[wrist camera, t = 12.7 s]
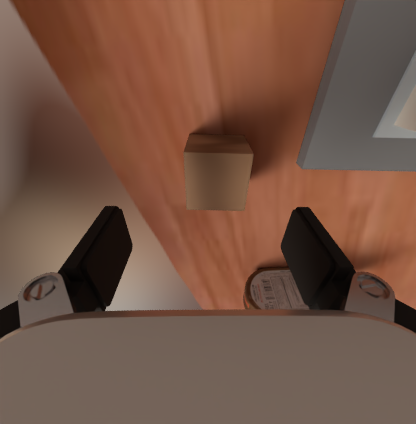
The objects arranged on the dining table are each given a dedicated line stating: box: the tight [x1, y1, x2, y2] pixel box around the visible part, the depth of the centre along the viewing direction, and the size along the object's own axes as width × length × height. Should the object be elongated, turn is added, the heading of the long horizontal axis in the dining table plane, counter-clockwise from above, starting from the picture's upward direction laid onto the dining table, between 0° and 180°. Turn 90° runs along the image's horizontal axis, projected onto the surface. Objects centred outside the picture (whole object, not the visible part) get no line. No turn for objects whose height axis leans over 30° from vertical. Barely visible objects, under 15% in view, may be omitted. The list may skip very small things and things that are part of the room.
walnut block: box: [184, 134, 254, 211], centre depth 17 cm, size 5×5×5 cm
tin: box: [243, 268, 310, 310], centre depth 26 cm, size 15×3×8 cm, turn 94°
